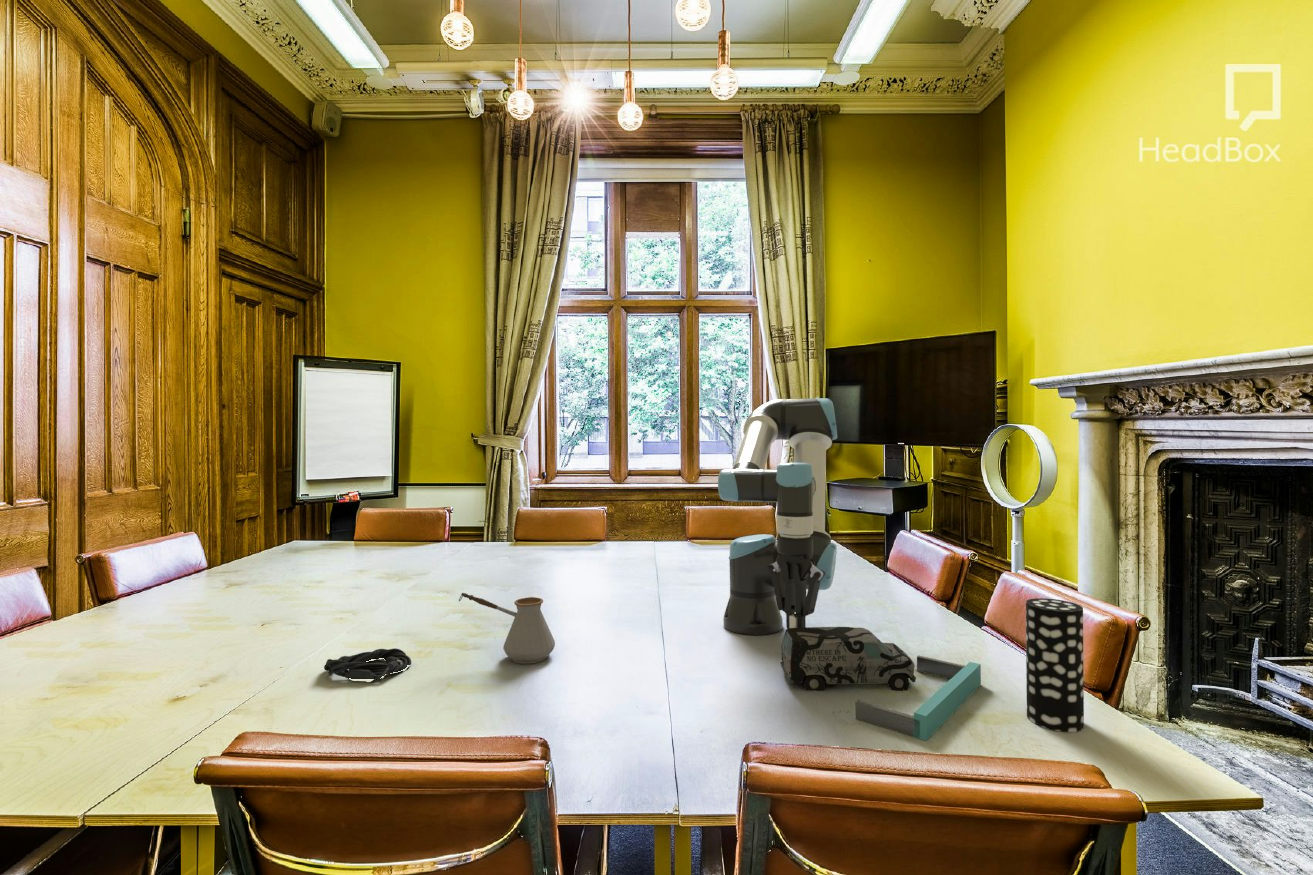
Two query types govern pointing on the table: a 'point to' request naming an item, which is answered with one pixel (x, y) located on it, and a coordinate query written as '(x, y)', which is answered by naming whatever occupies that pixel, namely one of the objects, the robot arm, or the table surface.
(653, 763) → the table surface
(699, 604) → the table surface
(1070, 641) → the white-spotted black cylinder
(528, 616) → the coffee pot
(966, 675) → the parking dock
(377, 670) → the cable
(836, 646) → the toy car
